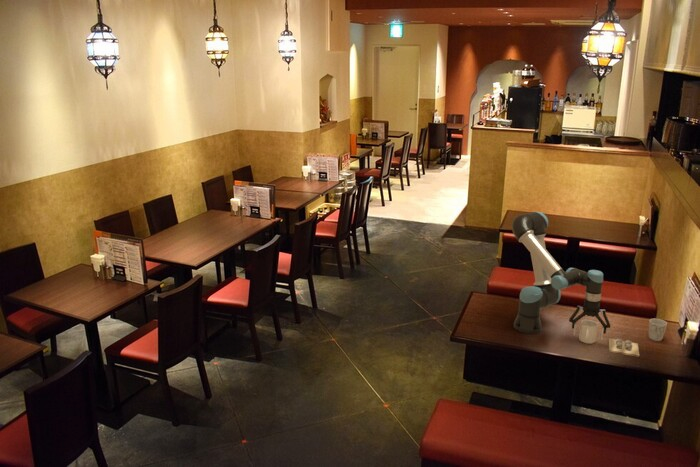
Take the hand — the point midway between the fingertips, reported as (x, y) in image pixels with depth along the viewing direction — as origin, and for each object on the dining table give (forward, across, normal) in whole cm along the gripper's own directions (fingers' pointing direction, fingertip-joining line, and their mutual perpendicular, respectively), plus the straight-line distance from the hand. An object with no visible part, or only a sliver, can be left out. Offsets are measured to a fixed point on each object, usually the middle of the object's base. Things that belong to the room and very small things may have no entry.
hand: (587, 336), depth 299 cm
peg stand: (+4, +18, 0) cm, 18 cm away
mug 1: (+4, 0, 0) cm, 4 cm away
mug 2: (+4, +35, +21) cm, 41 cm away
